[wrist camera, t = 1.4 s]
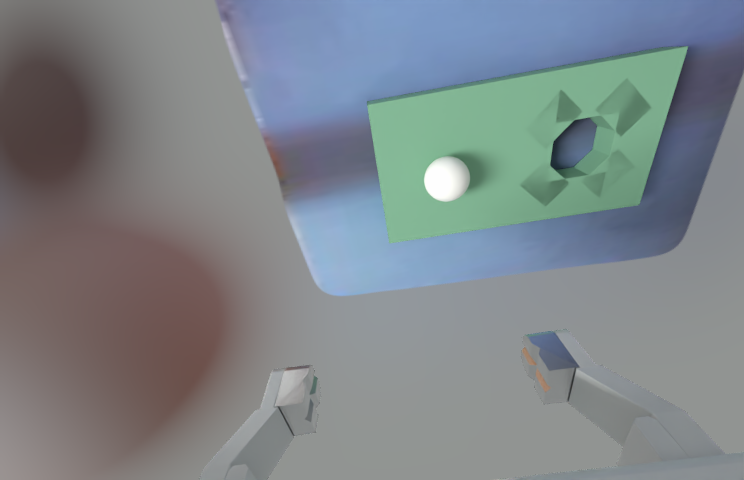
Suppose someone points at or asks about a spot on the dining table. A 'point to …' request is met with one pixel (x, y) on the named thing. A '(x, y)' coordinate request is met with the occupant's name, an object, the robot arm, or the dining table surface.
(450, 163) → the ball
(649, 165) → the putting mat
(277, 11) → the dining table surface
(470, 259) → the dining table surface
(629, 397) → the robot arm
